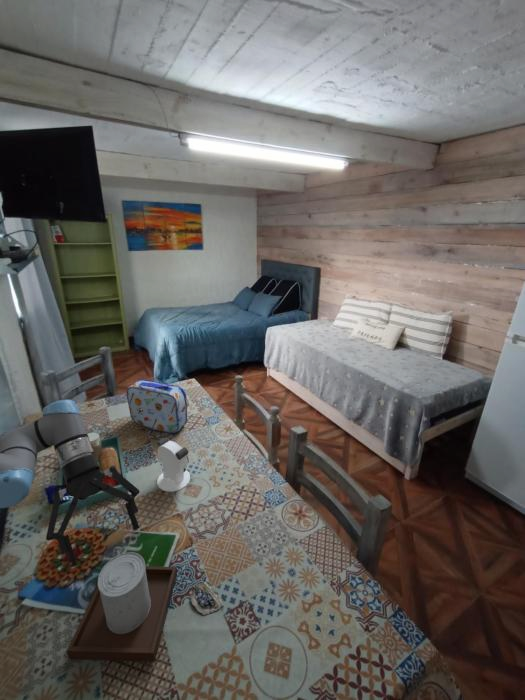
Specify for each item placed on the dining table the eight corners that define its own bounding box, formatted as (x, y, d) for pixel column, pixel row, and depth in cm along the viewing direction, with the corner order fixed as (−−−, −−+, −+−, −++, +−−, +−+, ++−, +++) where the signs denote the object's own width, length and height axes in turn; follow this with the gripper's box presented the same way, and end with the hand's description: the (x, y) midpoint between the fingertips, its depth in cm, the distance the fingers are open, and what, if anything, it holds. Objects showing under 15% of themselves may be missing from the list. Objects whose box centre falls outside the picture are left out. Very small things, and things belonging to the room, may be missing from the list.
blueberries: (200, 579, 81) (199, 574, 80) (228, 591, 78) (228, 586, 77) (184, 606, 75) (184, 601, 74) (214, 621, 72) (214, 615, 71)
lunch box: (193, 425, 144) (191, 381, 136) (181, 438, 135) (178, 392, 127) (142, 414, 152) (137, 372, 144) (128, 426, 142) (121, 382, 134)
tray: (69, 659, 65) (66, 650, 64) (109, 573, 81) (107, 564, 80) (154, 661, 65) (153, 653, 64) (177, 574, 81) (176, 566, 80)
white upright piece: (198, 477, 114) (196, 443, 108) (173, 497, 105) (170, 461, 99) (175, 464, 120) (172, 430, 115) (150, 482, 111) (146, 446, 106)
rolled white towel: (107, 596, 75) (99, 559, 71) (150, 582, 79) (144, 546, 74) (104, 641, 67) (95, 603, 63) (151, 624, 70) (146, 586, 66)
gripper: (14, 482, 67) (44, 585, 62) (131, 435, 83) (162, 514, 78) (16, 487, 72) (44, 582, 67) (126, 443, 89) (155, 517, 84)
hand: (107, 546), depth 73 cm, fingers open, 13 cm apart
